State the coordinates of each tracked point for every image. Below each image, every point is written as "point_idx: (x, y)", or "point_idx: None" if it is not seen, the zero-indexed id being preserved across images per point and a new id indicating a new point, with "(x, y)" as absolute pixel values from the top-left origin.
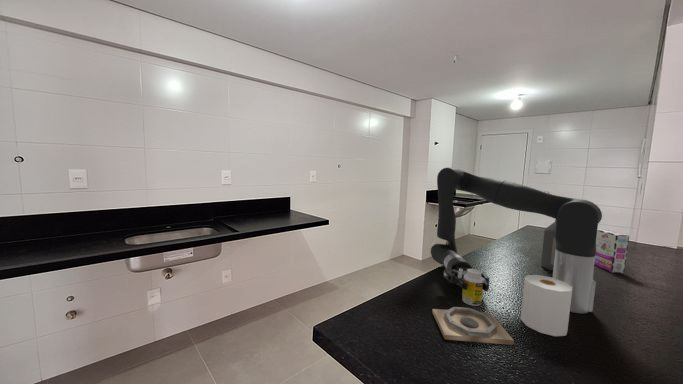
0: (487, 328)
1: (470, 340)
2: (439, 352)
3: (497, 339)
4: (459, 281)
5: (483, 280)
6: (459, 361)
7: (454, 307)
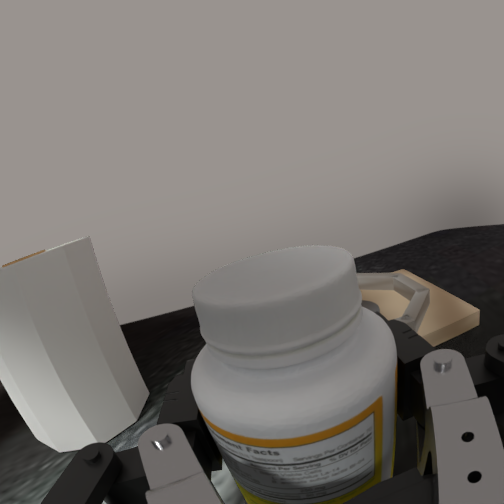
0: None
1: None
2: (402, 263)
3: None
4: (426, 347)
5: (179, 407)
6: (368, 266)
7: (408, 318)
